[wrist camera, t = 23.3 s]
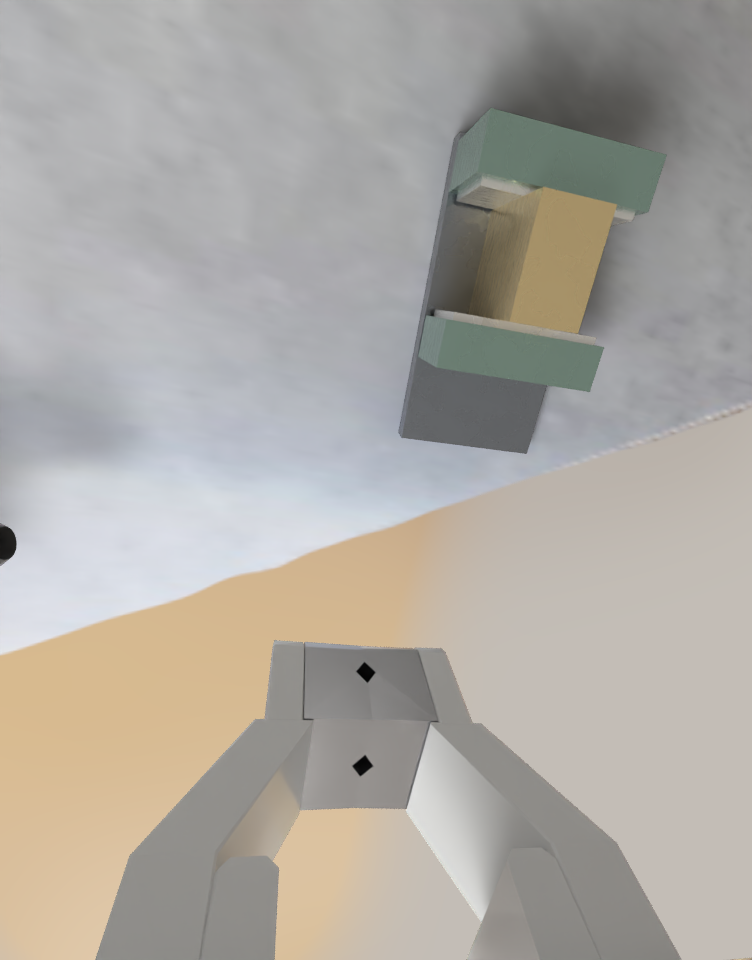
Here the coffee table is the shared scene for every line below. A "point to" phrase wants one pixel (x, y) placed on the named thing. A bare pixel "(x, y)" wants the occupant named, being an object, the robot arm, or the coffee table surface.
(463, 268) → the vise
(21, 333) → the coffee table surface
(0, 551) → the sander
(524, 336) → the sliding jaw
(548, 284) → the brass block
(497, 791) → the robot arm
